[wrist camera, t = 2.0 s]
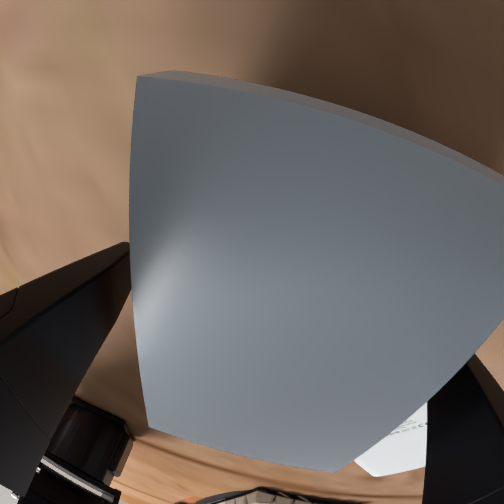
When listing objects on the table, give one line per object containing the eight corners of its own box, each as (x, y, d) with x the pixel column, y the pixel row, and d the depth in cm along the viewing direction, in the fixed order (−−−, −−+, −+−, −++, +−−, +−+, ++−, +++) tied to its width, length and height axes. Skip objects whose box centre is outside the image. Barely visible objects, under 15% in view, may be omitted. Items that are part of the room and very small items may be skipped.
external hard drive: (372, 461, 22) (309, 401, 17) (463, 437, 18) (446, 361, 14) (371, 478, 21) (306, 425, 16) (466, 454, 17) (452, 387, 12)
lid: (160, 399, 10) (148, 426, 9) (174, 70, 4) (137, 75, 4) (337, 444, 10) (335, 472, 9) (530, 192, 4) (563, 223, 3)
